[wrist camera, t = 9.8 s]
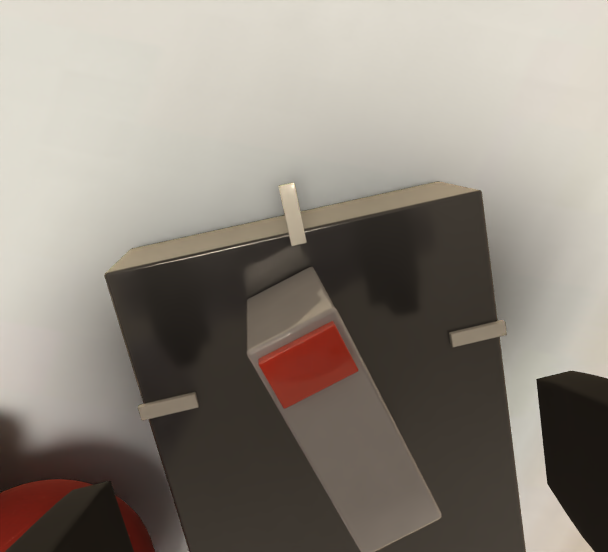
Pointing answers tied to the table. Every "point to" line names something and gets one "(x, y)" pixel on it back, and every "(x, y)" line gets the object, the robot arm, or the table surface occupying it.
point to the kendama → (43, 496)
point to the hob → (371, 345)
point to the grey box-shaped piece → (336, 412)
